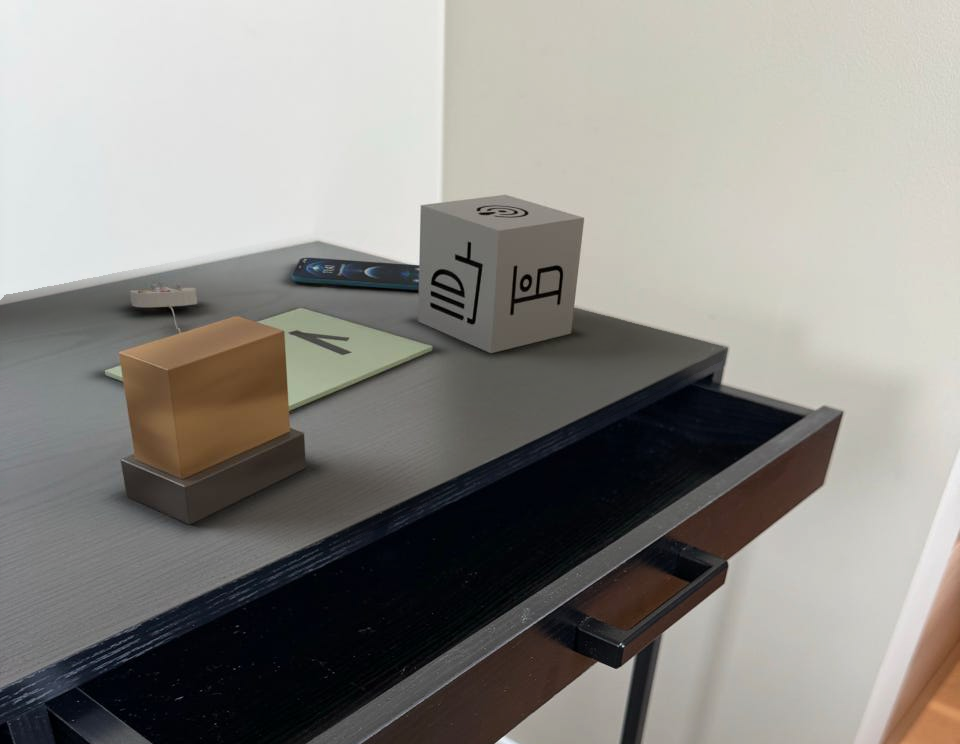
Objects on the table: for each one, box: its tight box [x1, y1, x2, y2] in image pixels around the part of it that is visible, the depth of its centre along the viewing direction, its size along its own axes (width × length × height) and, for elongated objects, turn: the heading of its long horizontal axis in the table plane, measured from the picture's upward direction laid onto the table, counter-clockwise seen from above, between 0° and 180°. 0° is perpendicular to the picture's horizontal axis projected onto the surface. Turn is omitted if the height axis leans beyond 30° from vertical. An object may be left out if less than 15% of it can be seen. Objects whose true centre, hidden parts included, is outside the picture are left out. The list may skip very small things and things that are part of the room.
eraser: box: [118, 315, 307, 526], centre depth 59 cm, size 6×10×9 cm, turn 146°
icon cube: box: [417, 194, 585, 354], centre depth 86 cm, size 10×10×10 cm
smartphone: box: [291, 257, 419, 291], centre depth 99 cm, size 8×1×15 cm
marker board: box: [104, 307, 433, 412], centre depth 79 cm, size 15×22×1 cm
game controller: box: [129, 280, 198, 334], centre depth 85 cm, size 6×12×3 cm, turn 40°
